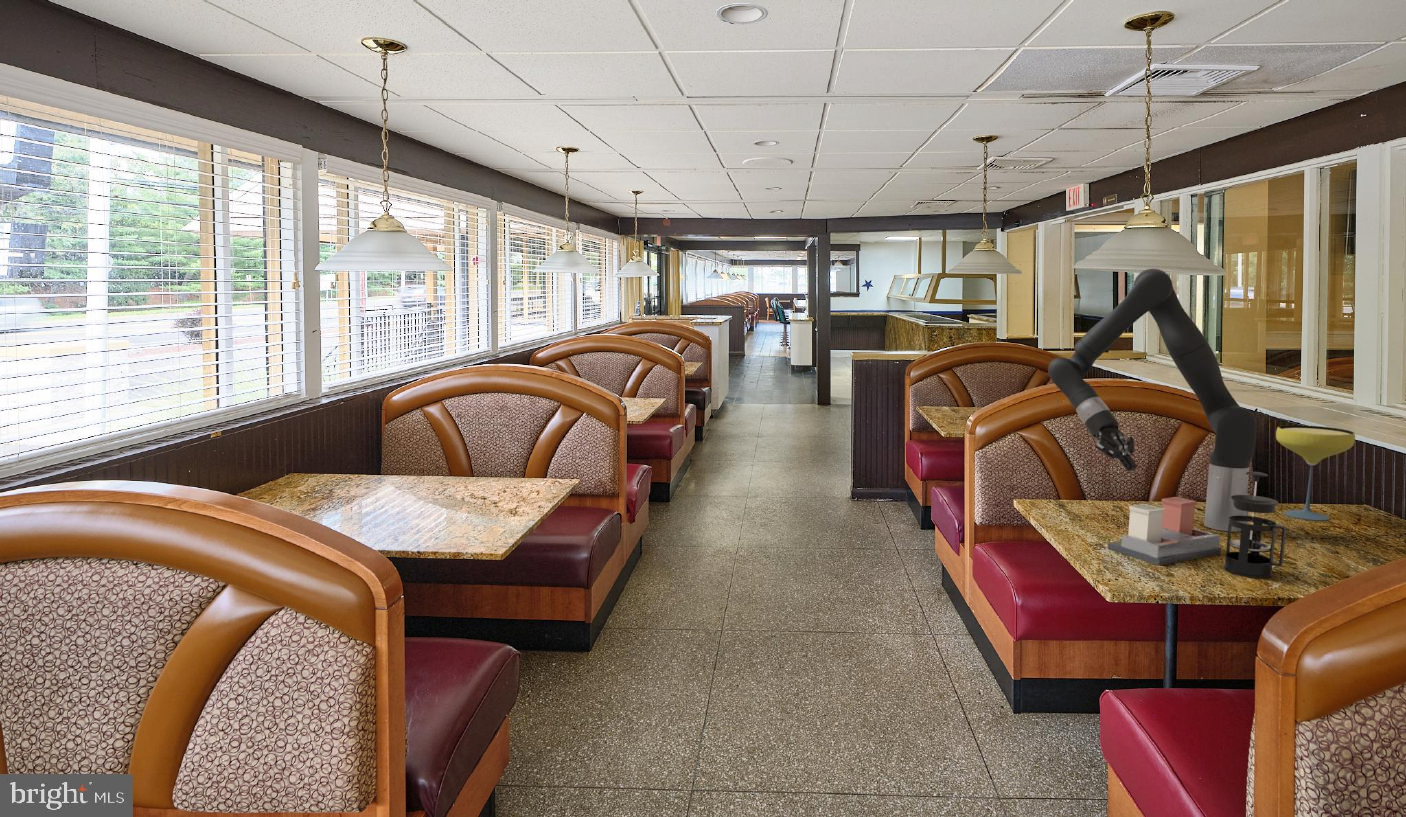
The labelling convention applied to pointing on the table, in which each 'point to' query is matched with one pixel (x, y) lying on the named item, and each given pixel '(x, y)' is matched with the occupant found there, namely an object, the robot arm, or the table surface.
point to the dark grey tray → (1169, 546)
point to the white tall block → (1146, 522)
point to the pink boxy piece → (1178, 515)
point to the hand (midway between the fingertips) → (1132, 469)
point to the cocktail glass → (1313, 453)
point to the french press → (1253, 536)
